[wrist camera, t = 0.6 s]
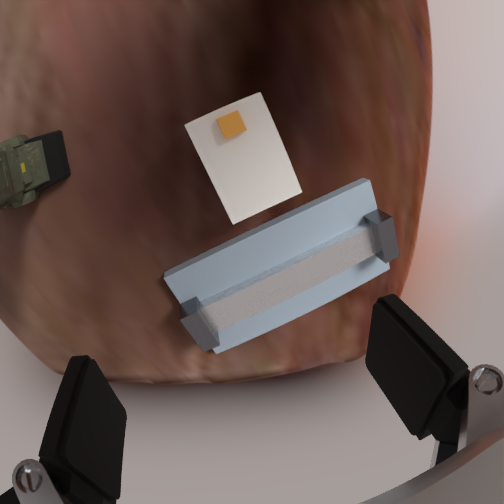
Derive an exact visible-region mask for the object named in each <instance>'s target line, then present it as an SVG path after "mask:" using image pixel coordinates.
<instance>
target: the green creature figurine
mask: <svg viewBox="0 0 504 504" xmlns="http://www.w3.org/2000/svg"><path fill="white" fill-rule="evenodd" d="M69 176H70V169H69V164H68V160H67V155H66V150H65V145H64V140H63V134H62V131H60V130H59V131H55V132H52V133H48V134H45V135H41V136H38V137H35V138H32V139H29V140H28V139H27V137H26V136H25V135H20V136H16V137H13V138H10V139H8V140H6V141H4V142H2V143H1V144H0V209H2V208H6V207H8V206H10V205H12V206H13V207H14V208H15V209H16V208H19V207H21V206H23V205H27V204H29V203H31V202H33V201H34V200H36V199H37V198H39V191H42V190H44V189H45V188H47V187H49V186H51V185H53V184H55V183H57V182H59V181H61V180H63V179H65V178H67V177H69ZM25 189H26V190H25Z"/></svg>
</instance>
